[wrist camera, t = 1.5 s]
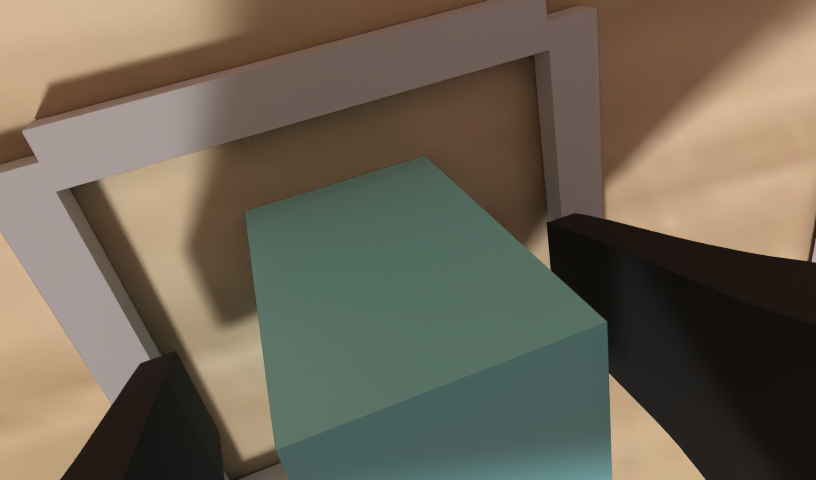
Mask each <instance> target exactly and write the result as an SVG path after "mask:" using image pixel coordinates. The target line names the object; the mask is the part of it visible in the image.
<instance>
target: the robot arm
mask: <svg viewBox="0 0 816 480" xmlns="http://www.w3.org/2000/svg"><path fill="white" fill-rule="evenodd" d="M547 232H548V243H549V254H550V266H551V271H552V272H553V273H554V274H555V275H556V276H557V277H558V278H560V279H561V280H562V281H563V282H564V283H565V284H566V285H567V286H568V287H569V288H571V289H572V290H573V291H574V292H575V293H576V294H577V295H578V296H579V297H580V298H582V299H583V300H584V301H585V302H586V303H587V304H588V305H589V306H590V307H591V308H593V309H594V310H595V311H596V312H597V313H598V314H599V315H600V316H601V317H602V318H604V319H605V320H606V321H607V333H608V365H609V373H610V374H611V375H612V376H613V377H614V378H615V379H616V381H617V382H618V383H619V384H620V385H621V386H622V387H623V388H624V389H625V390H626V391H627V392H628V393H629V394H630V395H631V396H632V397H633V398H634V399H635V400H636V401H637V402H638V403H639V404H640V405H641V406H642V407H643V408H644V409H645V410H646V411H647V412H648V413H649V414H650V415H651V416H652V417H653V418H654V419H655V420H656V421H657V422H658V423H659V424H660V425H661V427H662V428H663V429H664V430H665V431H666V432H667V433H668V434H669V435H670V437H671V438H672V439H673V440H674V441H675V442H676V443H677V444H678V445H679V447H680V448H681V449H682V450H683V452H684V453H685V454H686V455H687V457H688V458H689V459H690V460H691V462H692V463H693V464H694V465H695V467H696V468H697V469H698V470H699V472H700V473H701V474H702V475H703V477H704V478H705V479H706V480H816V240H815V245H814V251H813V256H812V262H808V261H801V260H794V259H787V258H779V257H772V256H766V255H760V254H754V253H748V252H743V251H738V250H733V249H728V248H723V247H718V246H713V245H708V244H704V243H699V242H695V241H690V240H686V239H682V238H678V237H674V236H670V235H666V234H662V233H658V232H654V231H650V230H646V229H642V228H638V227H634V226H630V225H626V224H622V223H619V222H615V221H611V220H606V219H602V218H598V217H594V216H589V215H584V214H577V213H573V214H570V215H567V216H564V217H562V218H559V219H556V220H553V221H550V222H547ZM60 480H225V479H224V470H223V460H222V453H221V445H220V437H219V431H218V430H217V428H216V426H215V424H214V422H213V420H212V418H211V416H210V414H209V413H208V411H207V409H206V407H205V405H204V403H203V401H202V399H201V397H200V395H199V394H198V392H197V390H196V388H195V386H194V384H193V382H192V380H191V378H190V377H189V375H188V373H187V371H186V369H185V367H184V365H183V363H182V361H181V360H180V358H179V356H178V354H177V352H176V351H174V352H171V353H168V354H165V355H163V356H160V357H157V358H154V359H151V360H148V361H145V362H142V363H140V364H139V366H138V367H137V368H136V370H135V371H134V373H133V374H132V375H131V377H130V378H129V380H128V381H127V383H126V384H125V386H124V387H123V389H122V390H121V392H120V393H119V395H118V397H117V398H116V400H115V401H114V403H113V404H112V406H111V407H110V409H109V410H108V412H107V413H106V415H105V416H104V418H103V419H102V421H101V422H100V424H99V425H98V427H97V428H96V430H95V431H94V433H93V434H92V435H91V437H90V438H89V440H88V441H87V443H86V444H85V446H84V447H83V449H82V450H81V452H80V453H79V455H78V456H77V458H76V459H75V460H74V462H73V463H72V464H71V466H70V467H69V468H68V470H67V471H66V472H65V474H64V475H63V477H62V478H61V479H60Z"/></svg>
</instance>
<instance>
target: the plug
mask: <svg viewBox="0 0 816 480" xmlns="http://www.w3.org/2000/svg"><path fill="white" fill-rule="evenodd" d="M245 219H246V227H247V234H248V242H249V250H250V257H251V265H252V273H253V281H254V288H255V296H256V304H257V312H258V319H259V327H260V335H261V343H262V350H263V358H264V366H265V373H266V381H267V389H268V397H269V404H270V412H271V420H272V428H273V435H274V443H275V451H276V453H277V455H278V457H279V459H280V461H281V463H282V465H283V468H284V470H285V472H286V474H287V476H288V478H289V480H612V462H611V429H610V397H609V365H608V333H607V321H606V320H605V319H604V318H602V317H601V316H600V315H599V314H598V313H597V312H596V311H595V310H594V309H593V308H591V307H590V306H589V305H588V304H587V303H586V302H585V301H584V300H583V299H582V298H580V297H579V296H578V295H577V294H576V293H575V292H574V291H573V290H572V289H571V288H569V287H568V286H567V285H566V284H565V283H564V282H563V281H562V280H561V279H560V278H558V277H557V276H556V275H555V274H554V273H553V272H552V271H551V270H550V269H549V268H548V267H546V266H545V265H544V264H543V263H542V262H541V261H540V260H539V259H538V258H537V257H535V256H534V255H533V254H532V253H531V252H530V251H529V250H528V249H527V248H526V247H524V246H523V245H522V244H521V243H520V242H519V241H518V240H517V239H516V238H515V237H513V236H512V235H511V234H510V233H509V232H508V231H507V230H506V229H505V228H504V227H502V226H501V225H500V224H499V223H498V222H497V221H496V220H495V219H494V218H493V217H491V216H490V215H489V214H488V213H487V212H486V211H485V210H484V209H483V208H482V207H480V206H479V205H478V204H477V203H476V202H475V201H474V200H473V199H472V198H471V197H470V196H468V195H467V194H466V193H465V192H464V191H463V190H462V189H461V188H460V187H459V186H457V185H456V184H455V183H454V182H453V181H452V180H451V179H450V178H449V177H448V176H446V175H445V174H444V173H443V172H442V171H441V170H440V169H439V168H438V167H437V166H435V165H434V164H433V163H432V162H431V161H430V160H429V159H428V158H427V157H426V156H422V157H419V158H415V159H412V160H409V161H406V162H403V163H399V164H396V165H393V166H390V167H386V168H383V169H380V170H377V171H373V172H370V173H367V174H364V175H361V176H357V177H354V178H351V179H348V180H344V181H341V182H338V183H335V184H332V185H328V186H325V187H322V188H319V189H315V190H312V191H309V192H306V193H302V194H299V195H296V196H293V197H290V198H286V199H283V200H280V201H277V202H273V203H270V204H267V205H264V206H260V207H257V208H254V209H251V210H248V211H245Z"/></svg>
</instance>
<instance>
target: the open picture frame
mask: <svg viewBox="0 0 816 480" xmlns="http://www.w3.org/2000/svg"><path fill="white" fill-rule="evenodd" d="M531 55H534V60H535V71H536V83H537V95H538V106H539V118H540V129H541V141H542V152H543V164H544V176H545V187H546V199H547V210H548V222H550V221H553V220H556V219H559V218H562V217H564V216H567V215H570V214H573V213H577V214H584V215H589V216H594V217H598V218H602V219H604V217H603V185H602V153H601V121H600V89H599V56H598V24H597V8H596V7H588V6H579V5H578V6H574V7H571V8H567V9H564V10H560V11H556V12H553V13H549V14H547V10H546V0H488V1H484V2H480V3H477V4H473V5H469V6H465V7H461V8H458V9H454V10H450V11H446V12H443V13H439V14H435V15H431V16H428V17H424V18H420V19H416V20H412V21H409V22H405V23H401V24H397V25H394V26H390V27H386V28H382V29H378V30H375V31H371V32H367V33H363V34H360V35H356V36H352V37H348V38H344V39H341V40H337V41H333V42H329V43H326V44H322V45H318V46H314V47H311V48H307V49H303V50H299V51H295V52H292V53H288V54H284V55H280V56H277V57H273V58H269V59H265V60H261V61H258V62H254V63H250V64H246V65H243V66H239V67H235V68H231V69H228V70H224V71H220V72H216V73H212V74H209V75H205V76H201V77H197V78H194V79H190V80H186V81H182V82H178V83H175V84H171V85H167V86H163V87H160V88H156V89H152V90H148V91H145V92H141V93H137V94H133V95H129V96H126V97H122V98H118V99H114V100H111V101H107V102H103V103H99V104H95V105H92V106H88V107H84V108H80V109H77V110H73V111H69V112H65V113H61V114H58V115H54V116H50V117H46V118H43V119H39V120H35V121H32V122H31V123H30V124H29V125H28V126H27V127H25V128H24V129H23V130H22V133H23V135H24V137H25V138H26V140H27V142H28V144H29V145H30V147H31V149H32V151H33V153H34V154H35V155H32V156H29V157H25V158H21V159H18V160H14V161H10V162H7V163H3V164H0V232H1V233H2V235H3V236H4V238H5V239H6V241H7V243H8V244H9V246H10V247H11V249H12V250H13V252H14V254H15V255H16V257H17V258H18V260H19V261H20V263H21V264H22V266H23V268H24V269H25V271H26V272H27V274H28V275H29V277H30V278H31V280H32V282H33V283H34V285H35V286H36V288H37V289H38V291H39V292H40V294H41V296H42V297H43V299H44V300H45V302H46V303H47V305H48V306H49V308H50V310H51V311H52V313H53V314H54V316H55V317H56V319H57V320H58V322H59V324H60V325H61V327H62V328H63V330H64V331H65V333H66V334H67V336H68V338H69V339H70V341H71V342H72V344H73V345H74V347H75V348H76V350H77V352H78V353H79V355H80V356H81V358H82V359H83V361H84V362H85V364H86V366H87V367H88V369H89V370H90V372H91V373H92V375H93V377H94V378H95V380H96V381H97V383H98V384H99V386H100V387H101V389H102V391H103V392H104V394H105V395H106V397H107V398H108V400H109V401H110V403H111V405H112V404H113V403H114V401H115V400H116V398H117V397H118V395H119V393H120V392H121V390H122V389H123V387H124V386H125V384H126V383H127V381H128V380H129V378H130V377H131V375H132V374H133V373H134V371H135V370H136V368H137V367H138V366H139V364H140V363H142V362H145V361H148V360H151V359H154V358H157V357H160V356H161V354H160V352H159V351H158V349H157V347H156V345H155V343H154V341H153V340H152V338H151V336H150V334H149V332H148V331H147V329H146V327H145V325H144V323H143V321H142V320H141V318H140V316H139V314H138V312H137V310H136V309H135V307H134V305H133V303H132V301H131V300H130V298H129V296H128V294H127V292H126V290H125V289H124V287H123V285H122V283H121V281H120V279H119V278H118V276H117V274H116V272H115V270H114V269H113V267H112V265H111V263H110V261H109V259H108V258H107V256H106V254H105V252H104V250H103V248H102V247H101V245H100V243H99V241H98V239H97V238H96V236H95V234H94V232H93V230H92V228H91V227H90V225H89V223H88V221H87V219H86V217H85V216H84V214H83V212H82V210H81V208H80V207H79V205H78V203H77V201H76V199H75V197H74V196H73V194H72V192H71V190H70V188H71V187H74V186H78V185H81V184H85V183H88V182H92V181H95V180H99V179H102V178H106V177H109V176H112V175H116V174H119V173H123V172H126V171H130V170H133V169H137V168H140V167H144V166H147V165H151V164H154V163H158V162H161V161H165V160H168V159H172V158H175V157H179V156H182V155H186V154H189V153H193V152H196V151H200V150H203V149H207V148H210V147H214V146H217V145H220V144H224V143H227V142H231V141H234V140H238V139H241V138H245V137H248V136H252V135H255V134H259V133H262V132H266V131H269V130H273V129H276V128H280V127H283V126H287V125H290V124H294V123H297V122H301V121H304V120H308V119H311V118H315V117H318V116H322V115H325V114H328V113H332V112H335V111H339V110H342V109H346V108H349V107H353V106H356V105H360V104H363V103H367V102H370V101H374V100H377V99H381V98H384V97H388V96H391V95H395V94H398V93H402V92H405V91H409V90H412V89H416V88H419V87H423V86H426V85H429V84H433V83H436V82H440V81H443V80H447V79H450V78H454V77H457V76H461V75H464V74H468V73H471V72H475V71H478V70H482V69H485V68H489V67H492V66H496V65H499V64H503V63H506V62H510V61H513V60H517V59H520V58H524V57H527V56H531ZM223 470H224V469H223ZM224 479H225V480H229V478H228V476H227V475H226V473H225V471H224ZM238 480H289V478H288V476H287V474H286V472H285V470H284V468H283V465H282V463H279V464H276V465H274V466H271V467H269V468H266V469H263V470H261V471H258V472H256V473H253V474H251V475H248V476H245V477H243V478H240V479H238Z"/></svg>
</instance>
